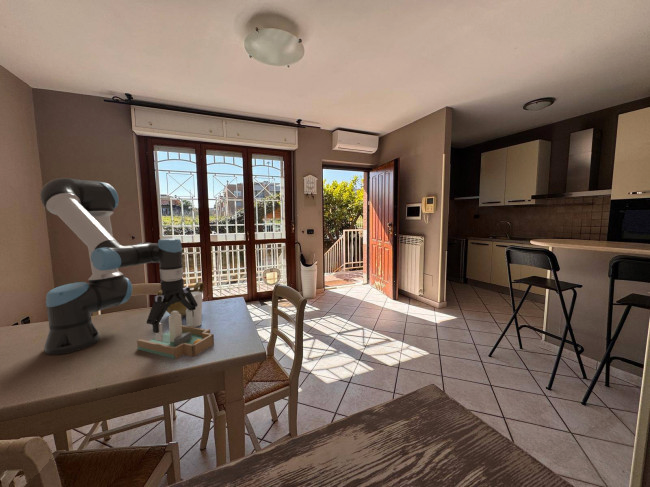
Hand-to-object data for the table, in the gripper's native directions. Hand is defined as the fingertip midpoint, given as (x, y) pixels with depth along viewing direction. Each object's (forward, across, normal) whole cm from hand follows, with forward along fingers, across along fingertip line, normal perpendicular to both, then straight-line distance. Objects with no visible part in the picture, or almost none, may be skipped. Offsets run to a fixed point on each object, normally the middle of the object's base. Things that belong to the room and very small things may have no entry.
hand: (175, 332), depth 100 cm
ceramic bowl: (+5, +24, +23) cm, 34 cm away
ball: (+3, 0, -11) cm, 12 cm away
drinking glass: (+5, +16, +7) cm, 18 cm away
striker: (+3, 0, -2) cm, 4 cm away
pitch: (+5, 0, -2) cm, 5 cm away
